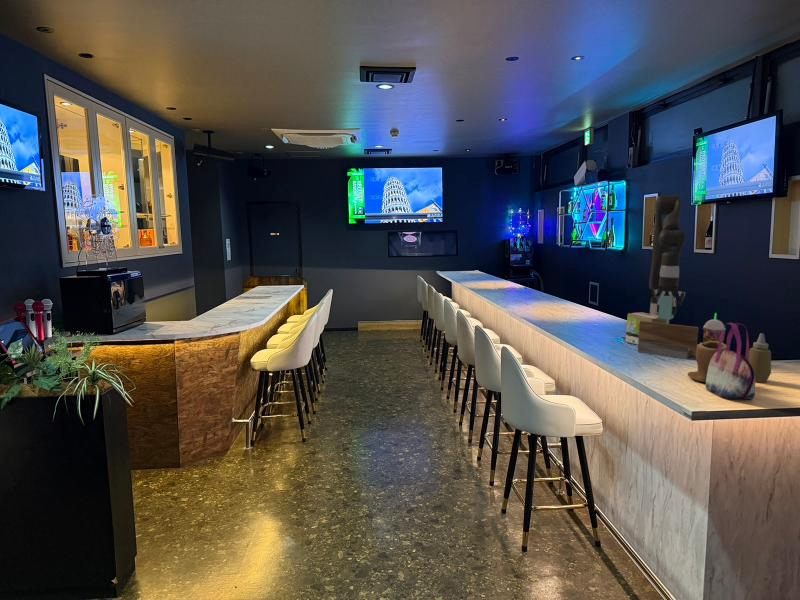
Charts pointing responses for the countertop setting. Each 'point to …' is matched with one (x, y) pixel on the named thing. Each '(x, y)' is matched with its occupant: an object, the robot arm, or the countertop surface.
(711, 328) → the smoothie
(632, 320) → the tea box
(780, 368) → the countertop surface
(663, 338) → the wall board
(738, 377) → the handbag
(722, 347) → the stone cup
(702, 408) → the countertop surface
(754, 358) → the squeeze bottle
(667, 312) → the cabinet
